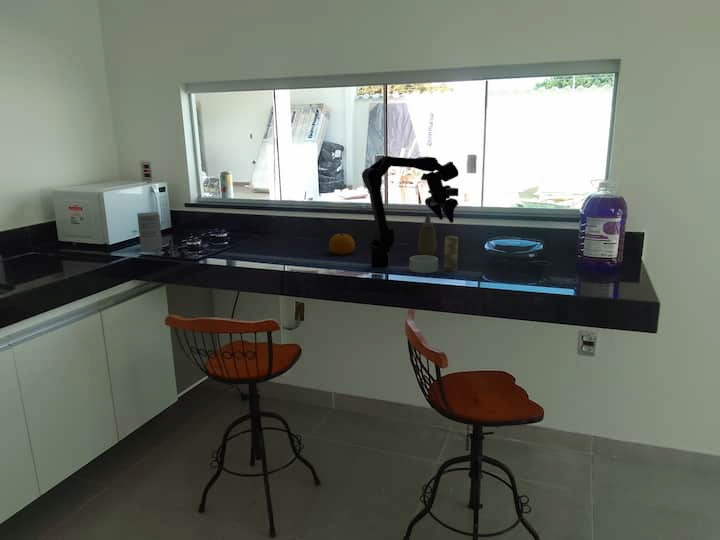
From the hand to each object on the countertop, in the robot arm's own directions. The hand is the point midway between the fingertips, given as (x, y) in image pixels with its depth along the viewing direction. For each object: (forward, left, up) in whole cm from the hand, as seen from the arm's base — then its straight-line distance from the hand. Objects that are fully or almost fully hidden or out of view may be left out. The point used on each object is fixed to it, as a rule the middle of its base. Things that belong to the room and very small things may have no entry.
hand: (446, 220), depth 232 cm
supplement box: (-137, +3, -17) cm, 138 cm away
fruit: (-46, +6, -17) cm, 50 cm away
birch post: (+2, -18, -16) cm, 25 cm away
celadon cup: (-8, -19, -16) cm, 27 cm away
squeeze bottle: (-8, +7, -17) cm, 20 cm away
